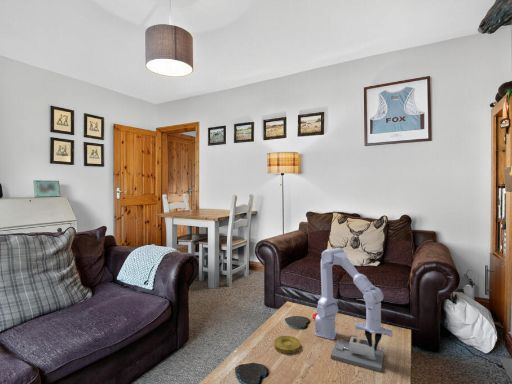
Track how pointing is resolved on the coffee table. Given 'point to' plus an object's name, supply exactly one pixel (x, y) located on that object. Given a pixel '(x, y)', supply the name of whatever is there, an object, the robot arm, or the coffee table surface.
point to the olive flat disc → (287, 344)
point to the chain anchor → (341, 347)
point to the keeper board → (358, 357)
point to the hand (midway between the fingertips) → (373, 348)
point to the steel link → (362, 346)
